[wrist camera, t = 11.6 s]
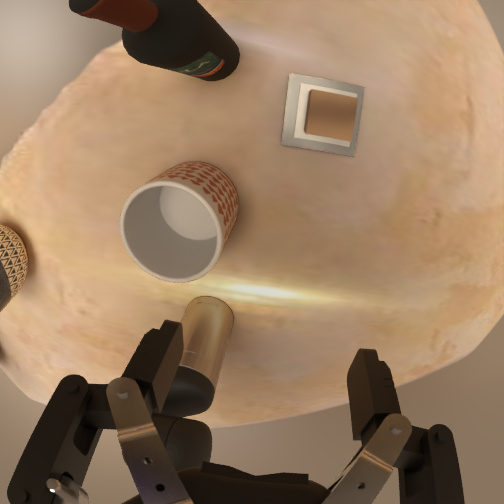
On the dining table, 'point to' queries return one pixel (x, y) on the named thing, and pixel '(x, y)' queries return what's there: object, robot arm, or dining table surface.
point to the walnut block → (330, 115)
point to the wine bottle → (168, 34)
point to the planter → (11, 265)
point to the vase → (180, 221)
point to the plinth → (292, 114)
